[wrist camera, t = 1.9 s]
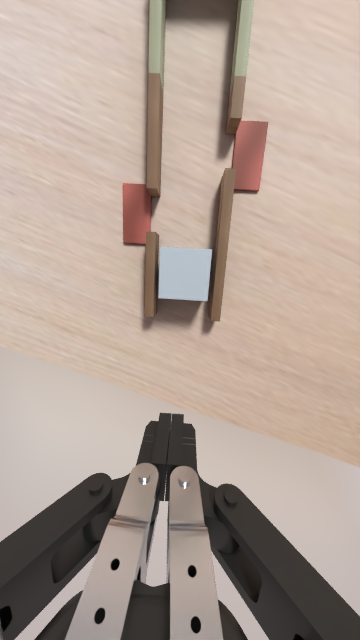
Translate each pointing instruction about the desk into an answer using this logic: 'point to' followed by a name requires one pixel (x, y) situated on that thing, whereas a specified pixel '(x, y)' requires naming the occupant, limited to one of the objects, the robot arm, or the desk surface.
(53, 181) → the desk surface
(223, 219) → the frame
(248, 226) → the desk surface
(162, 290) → the slate block
